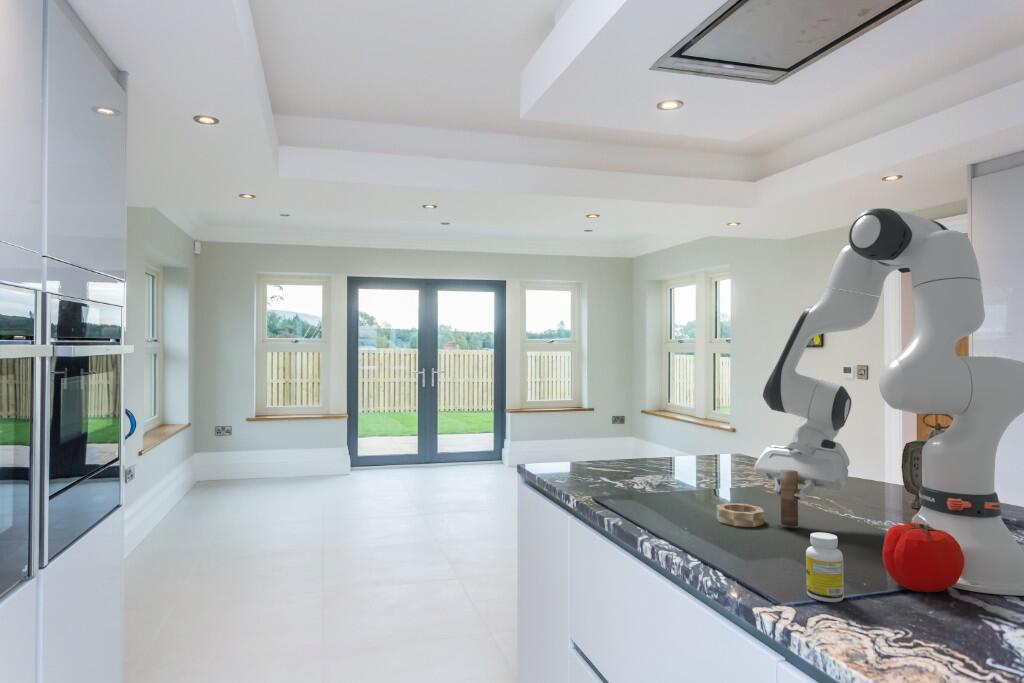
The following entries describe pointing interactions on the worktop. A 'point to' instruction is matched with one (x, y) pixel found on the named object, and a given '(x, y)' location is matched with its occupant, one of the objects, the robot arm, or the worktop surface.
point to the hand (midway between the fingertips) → (787, 496)
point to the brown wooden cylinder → (789, 497)
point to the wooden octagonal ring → (740, 514)
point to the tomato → (922, 557)
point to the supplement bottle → (824, 568)
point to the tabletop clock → (917, 460)
